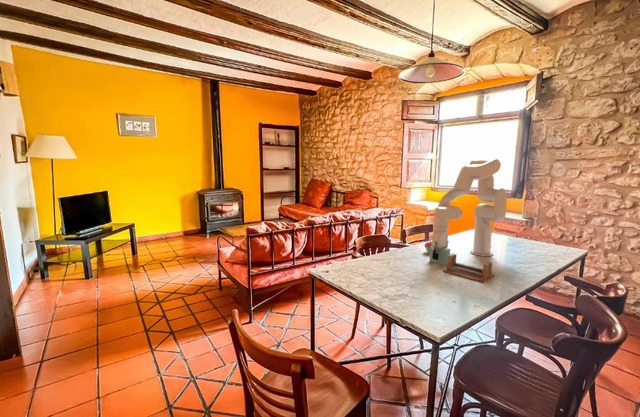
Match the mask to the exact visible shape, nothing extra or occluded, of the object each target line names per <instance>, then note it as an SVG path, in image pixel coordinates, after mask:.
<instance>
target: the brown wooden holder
mask: <svg viewBox="0 0 640 417" xmlns="http://www.w3.org/2000/svg"><path fill="white" fill-rule="evenodd" d="M442 272H443V273H446V274H449V275H453V276H456V277H461V278H464V279H466V280H467V279H468V280H471V281H475V282H478V283H481V284H482V283H485V282H487V281H488V280H490V279H492V278H493V277H495V273H493V262H492V261H489V260H488V261H486V262H484V263H482V268H480V267H475V266H471V265H468V264H467V265H466V264H463V263H460V262H457V253H450V255H448V256H447V265H446V268H444V269H442Z"/></svg>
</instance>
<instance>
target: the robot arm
mask: <svg viewBox="0 0 640 417" xmlns="http://www.w3.org/2000/svg"><path fill="white" fill-rule="evenodd" d="M501 165H502V164H501V161H500V160H499V159H497V158H492V157H491V158H474V159H472V160H471V161H470V162H469V164H466V165H463V167H461V169H460V171H459V174H458V176H457V178H456V180H455V183H454V185H453V187H452V188H451V189H450V190H448V191H447V192H446V193H445V194H444V195H443V196H442V197H441V199H440V200H439V202H438V206H437V207H435V208H434V217H433V218H434V222H433V234H432V237H431V242H432V246H431V247H432V252H433V254H432V259H435V260H438V251H439V249H442V248H444V247H445V248H448V246H449V245H448V244H449V236H448V235H449V234H448V232H449V223H450V222H449V220H453V221H454V220H455V221H456V220H459V219H460V218H462V217H463V209H462V208H460V207H459V206H455V205H450V204H451V203H452V202H453V201H454V200H456V199H457V198H460V197H463V196H464V195H468V194H469V192H470V189H471V187H472V185H473V182H474V181H477V183H478V184H477V199H478V201H479V202H483V203H479V204H477V205H476V206H475V207H474V209H473V214H474V215H473V216H474V232H473V233H474V236H473V248H472V249H470V254H472V255H475V256H481V257H491V256H493V255H494V252H493V251H491V249H492V245H491V244H492V236H493V234H492V232H493V226H492V222H502V221H504V219H505V218H506V215H507V202H508V193H507V190H506V189H505V188H503V187H498V186H495V178H494V175H496V174H497V173H498V172H499V171H500V170H501ZM490 203H491V204H490ZM491 221H492V222H491ZM437 247H438V248H437ZM436 249H437V250H436Z"/></svg>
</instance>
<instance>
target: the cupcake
mask: <svg viewBox="0 0 640 417" xmlns="http://www.w3.org/2000/svg"><path fill="white" fill-rule="evenodd" d="M430 246H432V236H431V235H429V241H428V242H426V243H424V248H425V249H426V252H427V253H428V254H429V255H430Z"/></svg>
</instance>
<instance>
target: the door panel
mask: <svg viewBox="0 0 640 417" xmlns="http://www.w3.org/2000/svg"><path fill="white" fill-rule="evenodd" d="M437 248H438V247H437ZM436 250H437V249H436ZM432 254H433V252H432V247H431V246H430V254H429V262H431V263H435V264H438V265H439V264H440V265H443V266H447V256H448V255H450V254H451V248H450V247H447V248H445V247H444V248H442V249H439V251H438V260H435V259H432Z"/></svg>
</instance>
